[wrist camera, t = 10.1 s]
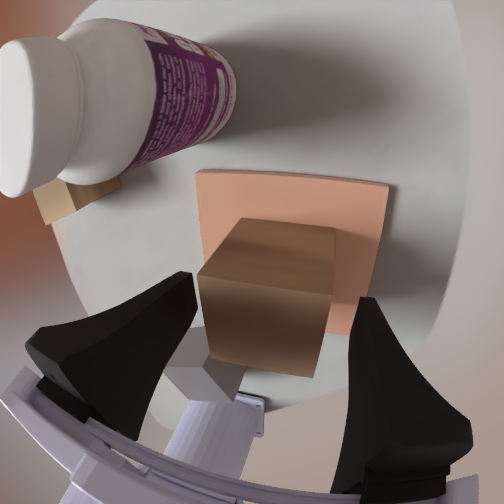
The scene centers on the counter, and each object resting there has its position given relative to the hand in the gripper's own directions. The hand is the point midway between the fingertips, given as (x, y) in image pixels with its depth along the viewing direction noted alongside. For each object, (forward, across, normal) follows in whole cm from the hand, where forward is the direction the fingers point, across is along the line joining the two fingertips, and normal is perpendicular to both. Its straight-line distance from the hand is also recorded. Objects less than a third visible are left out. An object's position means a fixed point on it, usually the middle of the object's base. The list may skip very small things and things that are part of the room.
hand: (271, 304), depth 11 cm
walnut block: (+3, 0, 0) cm, 3 cm away
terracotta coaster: (+4, 0, 0) cm, 4 cm away
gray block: (+4, +5, +8) cm, 11 cm away
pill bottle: (+4, +5, -8) cm, 11 cm away
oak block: (+4, +12, -5) cm, 14 cm away
